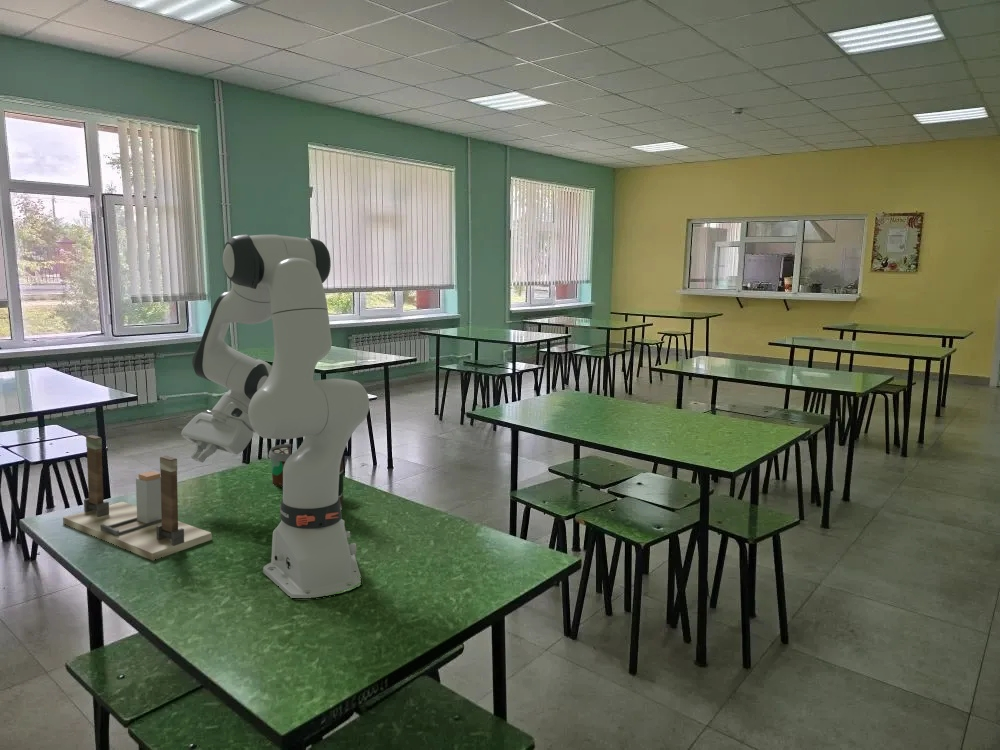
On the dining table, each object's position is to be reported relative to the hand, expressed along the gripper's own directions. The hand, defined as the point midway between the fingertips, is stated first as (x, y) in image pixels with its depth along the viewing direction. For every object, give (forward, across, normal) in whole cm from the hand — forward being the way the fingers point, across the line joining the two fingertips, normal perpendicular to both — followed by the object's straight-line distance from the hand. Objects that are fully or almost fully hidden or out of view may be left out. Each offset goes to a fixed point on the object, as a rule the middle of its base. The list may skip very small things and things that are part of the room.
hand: (196, 460), depth 164 cm
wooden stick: (+19, -14, -5) cm, 24 cm away
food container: (-11, -3, +30) cm, 32 cm away
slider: (+17, 0, 0) cm, 17 cm away
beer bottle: (-5, +24, +24) cm, 34 cm away
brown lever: (+19, +14, -5) cm, 24 cm away
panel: (+21, 0, -2) cm, 21 cm away
